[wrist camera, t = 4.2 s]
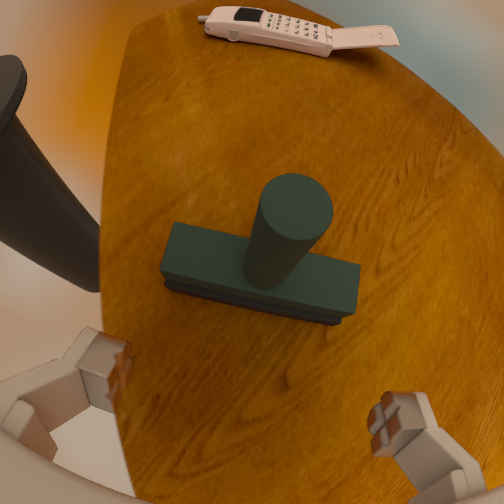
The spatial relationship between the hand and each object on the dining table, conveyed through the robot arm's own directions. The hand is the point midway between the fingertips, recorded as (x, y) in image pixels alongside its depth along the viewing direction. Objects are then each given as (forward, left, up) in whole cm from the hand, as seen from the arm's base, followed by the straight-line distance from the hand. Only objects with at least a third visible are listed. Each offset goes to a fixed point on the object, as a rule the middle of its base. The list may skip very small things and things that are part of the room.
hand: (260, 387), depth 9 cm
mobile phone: (-2, +37, -12) cm, 39 cm away
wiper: (0, +6, -12) cm, 13 cm away
